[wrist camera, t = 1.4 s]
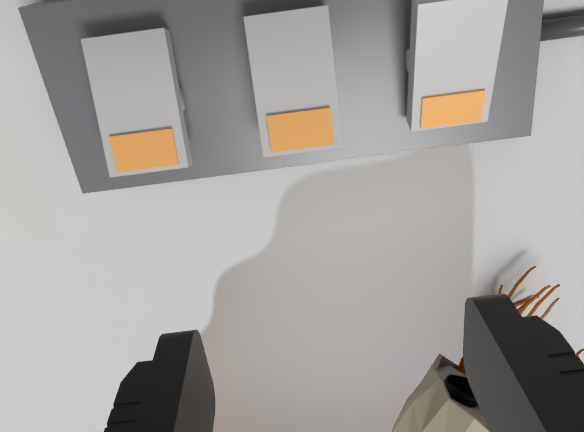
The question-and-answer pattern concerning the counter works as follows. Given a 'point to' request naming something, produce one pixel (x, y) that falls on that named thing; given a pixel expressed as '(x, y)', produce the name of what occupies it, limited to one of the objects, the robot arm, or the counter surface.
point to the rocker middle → (294, 81)
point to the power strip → (239, 86)
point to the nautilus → (452, 391)
